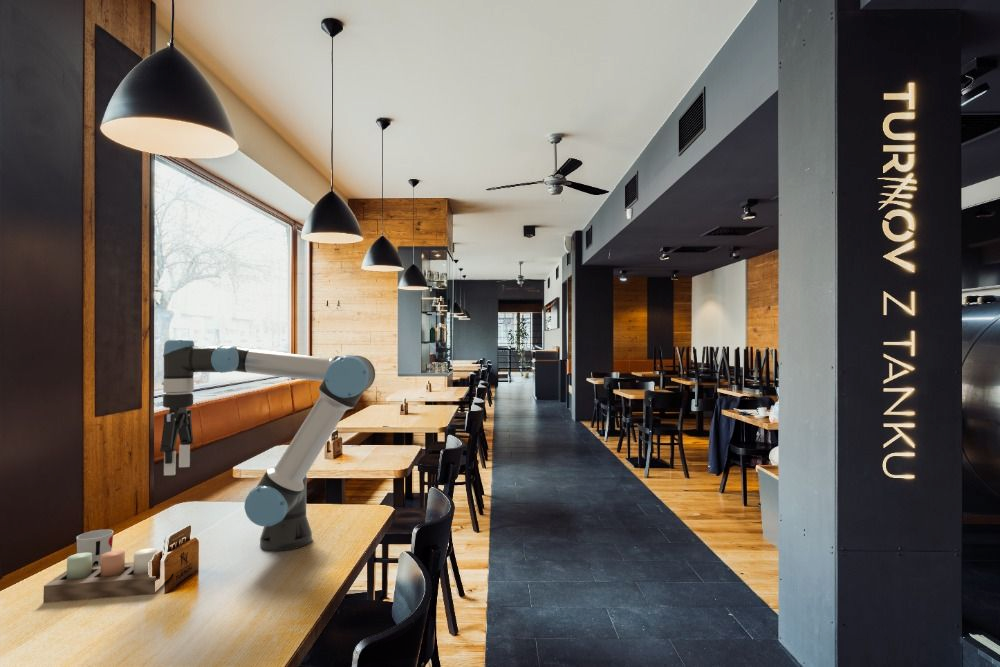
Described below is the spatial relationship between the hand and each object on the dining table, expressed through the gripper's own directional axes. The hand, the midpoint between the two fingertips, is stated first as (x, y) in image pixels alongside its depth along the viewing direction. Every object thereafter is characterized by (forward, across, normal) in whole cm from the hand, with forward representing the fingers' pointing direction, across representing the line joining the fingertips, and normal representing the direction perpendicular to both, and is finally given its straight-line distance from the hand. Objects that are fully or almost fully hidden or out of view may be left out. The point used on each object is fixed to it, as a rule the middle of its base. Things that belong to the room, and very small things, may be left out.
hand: (177, 470), depth 157 cm
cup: (+26, +3, -19) cm, 32 cm away
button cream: (+22, +16, -2) cm, 27 cm away
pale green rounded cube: (+22, +16, -17) cm, 32 cm away
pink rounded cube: (+22, +16, -9) cm, 29 cm away
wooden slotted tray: (+26, +16, -9) cm, 32 cm away
